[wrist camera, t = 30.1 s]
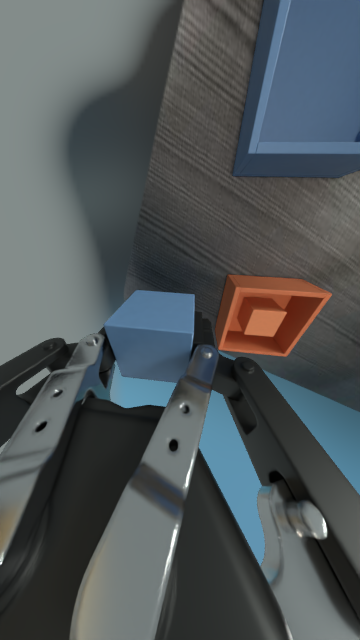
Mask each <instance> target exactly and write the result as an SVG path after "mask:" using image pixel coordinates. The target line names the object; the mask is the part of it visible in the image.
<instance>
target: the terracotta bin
mask: <svg viewBox="0 0 360 640" xmlns="http://www.w3.org/2000/svg"><path fill="white" fill-rule="evenodd" d="M331 295H332V294H331V293H329V292H327V291H325V290H323V289H321V288H319V287H317V286H315V285H313V284H311V283H309V282H307V281H305V280H303V279H291V278H276V277H260V276H244V275H229V274H228V275H227V280H226V284H225V288H224V292H223V297H222V301H221V305H220V309H219V314H218V318H217V322H216V327H215V333H216V339H217V345H218V350H226V351H236V352H246V353H256V354H265V355H275V356H287V355H288V354H289V352H290V351H291V350H292V348H293V347H294V346H295V344H296V343H297V341H298V340H299V339H300V337H301V336H302V335H303V333H304V332H305V331H306V329H307V328H308V326H309V325H310V324H311V322H312V321H313V320H314V318H315V317H316V316H317V314H318V313H319V312H320V310H321V309H322V307H323V306H324V305H325V303H326V302H327V301H328V299H329V298H330V297H331ZM244 297H257V298H272V299H273V300H274V301H275V302H276V303H277V304H278V305H279V306H281V307H282V308H283V309H284V310H285V311H286V312H287V313H286V315H285V317H284V319H283V320H282V322H281V324H280V326H279V327H278V329H277V331H276V333H275V335H274V336H273V337H269V336H258V335H246V334H244V333H243V331H242V329H241V327H240V324H239V322H238V320H237V317H238V314H239V311H240V308H241V305H242V302H243V299H244Z"/></svg>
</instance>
